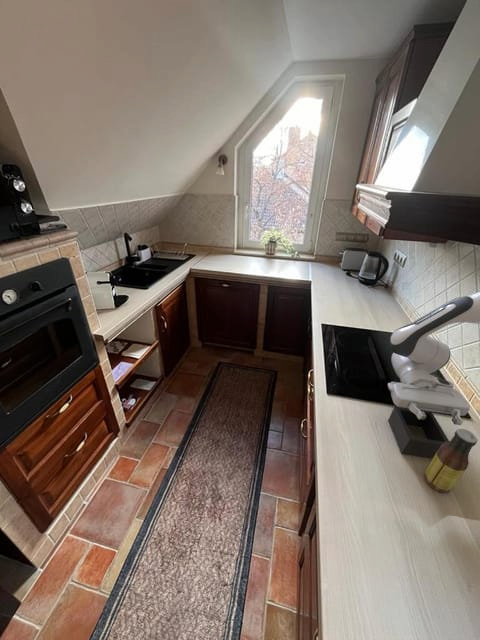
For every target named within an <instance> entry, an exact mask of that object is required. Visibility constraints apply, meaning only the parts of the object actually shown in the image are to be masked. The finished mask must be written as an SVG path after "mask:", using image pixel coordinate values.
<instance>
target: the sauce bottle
mask: <svg viewBox="0 0 480 640" xmlns="http://www.w3.org/2000/svg"><path fill="white" fill-rule="evenodd" d="M477 443H478V439H477V436H476V435H475V434H474V433H473V432H471V431H469V430H467V429H465V428H457V429H456V430H455V432H454V436H453V437H452V439H450V440H449V441H447V442H444V443H443V444H442V445H441V446H440V448H439V450H438V451H437V452H436V454H435V456H434V458H433V459H431V461H430V463H428V466H427V468H426V469H425V472H424V479H425V481H426V483H427V484H428V485H429V486H430V487H431V488H432V489H433V490H434V491H437V492H439V493H443V494H445V493H449V492H450V491H451V490H452V489H453V488H454V487H455V485H456V484H457V483H458V481H459V479H461V477H462V476H463V474H464V472H466V470H467V468H468V466H469V464H470V462H469V454H470V452H471V450H472V448H473V447H475V446H476V445H477Z"/></svg>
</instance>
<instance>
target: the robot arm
mask: <svg viewBox="0 0 480 640" xmlns="http://www.w3.org/2000/svg"><path fill="white" fill-rule="evenodd" d="M458 323H459V324H460V323H465V324H466V323H468V324H478V325H480V290H479V291H477V292H475V293H472V294H469V295H466V296H459V297H455V298H453V299H451V300H448V301H447V302H445V303H444V304H442V305H440V306H438V307H436V308H435V309H433V310H432V311H430V312H428V313H426V314H424V315H423V316H421V317H419V318H418V319H416V320H414V321H413V322H411V323H409V324H406V325H404V326H400V327H398V328H397V329H395V330H394V331H393V332H392V334H391V335H390V337H389V347H390V349H391V350H392V352H393V353H392V354H391V358H390V359H391V364H392V368H393V370H394V372H395V374H396V376H397V378H399V380H400V382H397V381H390V382H388V383H387V385H386V386H387V388H388V390H389V391H390V396H391V399H392V402H393V404H394V405H395V407H402V408H409V410H410V411H411V412H413V413H414V414H415V415H416V416H417V417H418V419H421V420H425V418H426V415H425V413H424V412H423V411H430V412H432V413H433V412H434V413H440V414H447V415H451V416H452V418H451V421H452V423H453V425H456V426H461V425H462V424H463V422H464V421H463V419H462V418H461V416H462V417H465V416H466V415H468V413H469V411H470V409H471V405H470V403H469V402H468V401H467V400H466V398H465V397H464V396H463V394H461V392H459V391H458V390H457V389H456V388H454V384H453V382H452V381H449V380H446V379H443V378H440V377H438V376H436V375H433V374H434V373H436V372H437V371H439V370H441V369H442V368H444V367H445V366H446V365H447V364H448V363H449V362H450V360H451V349H450V347H449V346H448V345H447V344H445V343H443V342H442V341H440V340H438V339H436V338H434V337H431V336H430V335H432V334H434V333H436V332H438V331H440V330H441V329H443V328H445V327H447V326H449V325H452V324H458ZM420 410H423V411H420Z"/></svg>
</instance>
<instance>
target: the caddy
mask: <svg viewBox="0 0 480 640" xmlns="http://www.w3.org/2000/svg"><path fill="white" fill-rule="evenodd" d="M420 411H423V412H424V413H425V415H426V418H425V420H421V419H418V417H417V416H416V415H415V414H414V413H413V412H411V411H410V410H409V408H404V407H398V406H394V407H393V409H392V411H391V413H390V415H389V417H388V419H387V422H388V425H389V426H390V429H391V432H392V434H393V437H394V439H395V442H396V444H397V447H398V449H399V452H400V454H401V455H406V456H412V457H418V458H423V459H430V460H432V459H433V458H434V456H435V454H436V452H437V451H438V450H439V448H440V446H441V445H442V444H443V443H444V442H447V441H450V439H448V436H447V435H446V433H445V432H444V429H443V428H442V427H441V425H440V423H439V421H438V419H437V418H436V417H435V415H434V413H433V411H426V410H420ZM409 427H413V428H419V429H421V430H422V432H423V434H424V436H425V438H423V437H415V436H412V434H411V431H410V429H409Z"/></svg>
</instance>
